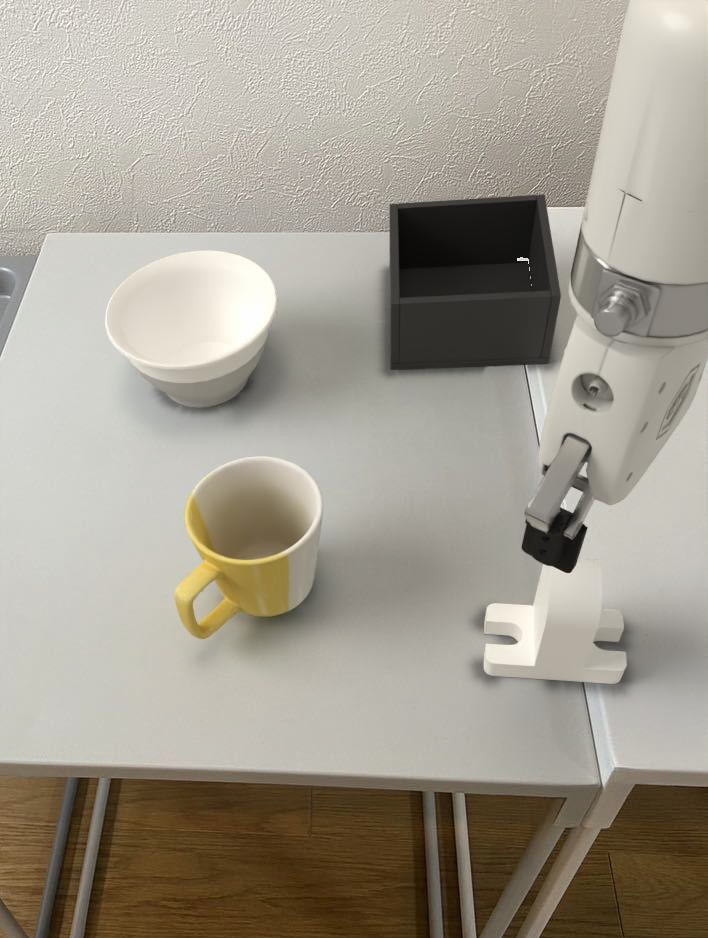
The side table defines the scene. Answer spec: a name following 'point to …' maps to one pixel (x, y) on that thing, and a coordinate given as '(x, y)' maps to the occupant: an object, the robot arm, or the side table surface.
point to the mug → (251, 540)
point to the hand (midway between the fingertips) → (587, 504)
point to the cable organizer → (558, 630)
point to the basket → (472, 283)
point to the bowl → (194, 323)
